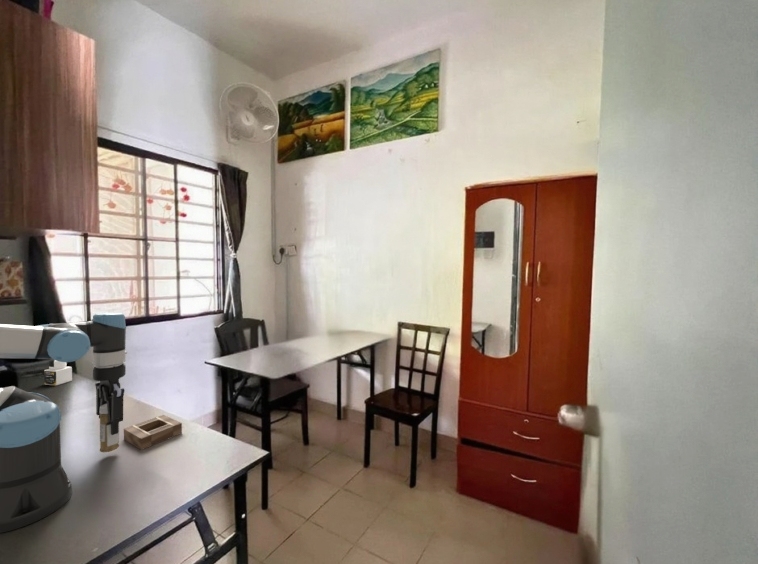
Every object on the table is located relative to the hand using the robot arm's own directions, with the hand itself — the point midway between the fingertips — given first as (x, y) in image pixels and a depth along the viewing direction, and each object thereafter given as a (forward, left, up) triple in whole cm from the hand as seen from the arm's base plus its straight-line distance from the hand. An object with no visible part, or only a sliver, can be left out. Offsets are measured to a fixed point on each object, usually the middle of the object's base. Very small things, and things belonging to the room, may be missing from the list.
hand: (109, 441), depth 97 cm
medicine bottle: (+63, +76, -4) cm, 99 cm away
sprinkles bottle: (0, 0, -2) cm, 2 cm away
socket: (+11, -5, -4) cm, 13 cm away
